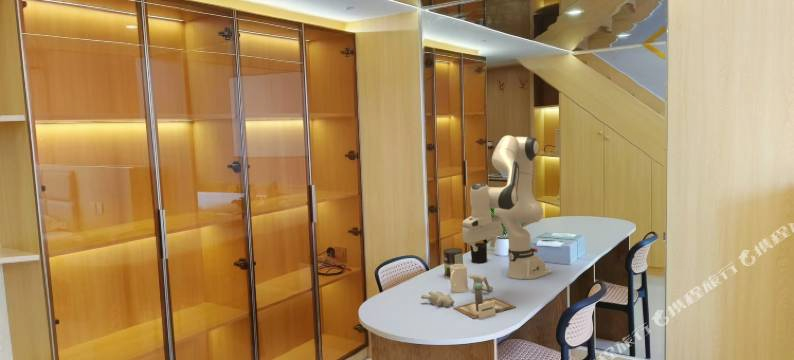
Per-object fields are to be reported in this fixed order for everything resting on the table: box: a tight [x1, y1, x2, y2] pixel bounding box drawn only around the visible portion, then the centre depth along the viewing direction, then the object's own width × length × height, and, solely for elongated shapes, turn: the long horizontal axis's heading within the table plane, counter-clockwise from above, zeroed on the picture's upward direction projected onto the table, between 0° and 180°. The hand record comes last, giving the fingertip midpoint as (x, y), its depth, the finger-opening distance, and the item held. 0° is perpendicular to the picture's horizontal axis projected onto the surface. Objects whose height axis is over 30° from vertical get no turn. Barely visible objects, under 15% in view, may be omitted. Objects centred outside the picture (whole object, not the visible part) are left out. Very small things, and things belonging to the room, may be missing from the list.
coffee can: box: [442, 247, 464, 280], centre depth 289 cm, size 10×10×14 cm
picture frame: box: [453, 297, 517, 320], centre depth 238 cm, size 22×16×1 cm
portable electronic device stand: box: [468, 273, 494, 294], centre depth 261 cm, size 9×8×8 cm
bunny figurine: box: [420, 291, 455, 308], centre depth 248 cm, size 10×5×15 cm
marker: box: [473, 282, 484, 312], centre depth 234 cm, size 3×3×12 cm
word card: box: [478, 301, 496, 320], centre depth 228 cm, size 8×1×6 cm, turn 116°
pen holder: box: [469, 242, 488, 264], centre depth 314 cm, size 9×9×10 cm
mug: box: [449, 263, 469, 294], centre depth 264 cm, size 12×8×12 cm
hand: (484, 248), depth 247 cm, fingers open, 8 cm apart
